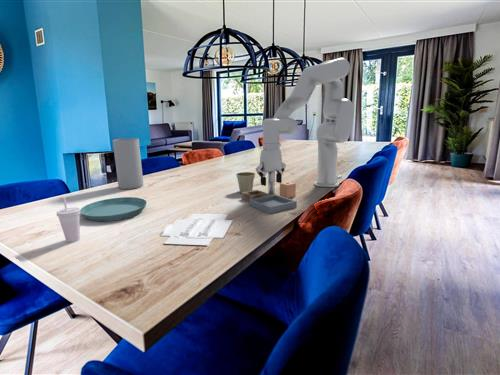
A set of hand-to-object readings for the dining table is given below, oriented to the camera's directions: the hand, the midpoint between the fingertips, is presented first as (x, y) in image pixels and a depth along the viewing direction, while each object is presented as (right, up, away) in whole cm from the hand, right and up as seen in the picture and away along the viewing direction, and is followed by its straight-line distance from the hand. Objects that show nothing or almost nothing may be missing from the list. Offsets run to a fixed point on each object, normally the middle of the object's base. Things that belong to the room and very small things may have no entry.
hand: (271, 183), depth 147 cm
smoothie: (-65, -18, -48) cm, 83 cm away
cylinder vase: (-73, -2, +21) cm, 76 cm away
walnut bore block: (-8, -7, -8) cm, 13 cm away
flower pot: (-12, -4, +6) cm, 14 cm away
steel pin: (0, -5, +1) cm, 5 cm away
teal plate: (-63, -12, -22) cm, 68 cm away
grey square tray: (-1, -9, -18) cm, 21 cm away
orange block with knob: (+7, -6, -4) cm, 10 cm away
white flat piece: (-27, -16, -40) cm, 51 cm away
